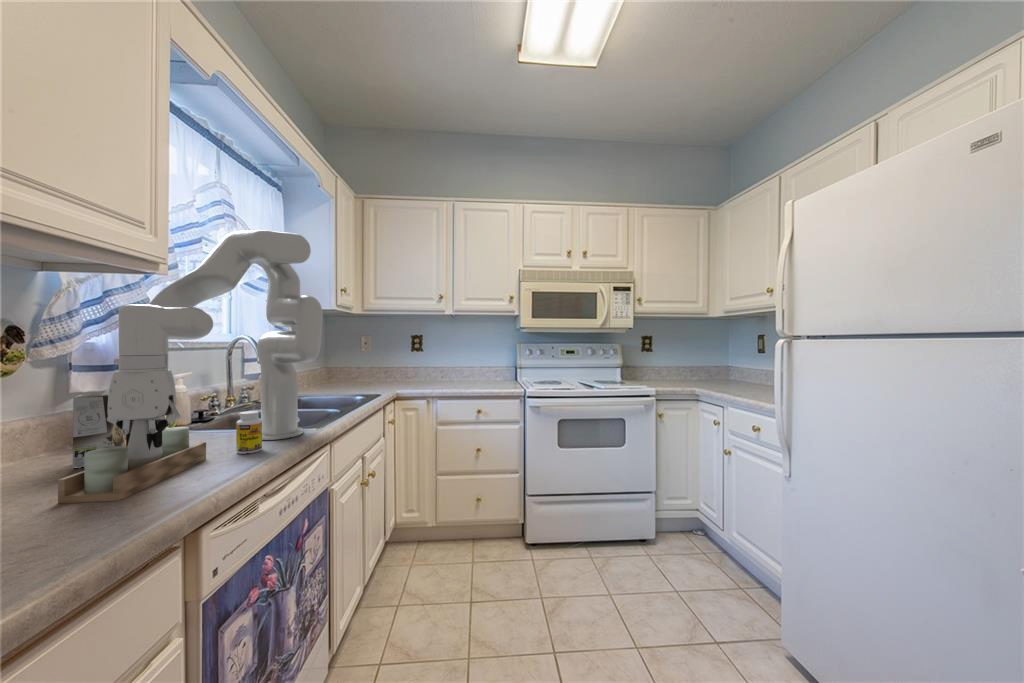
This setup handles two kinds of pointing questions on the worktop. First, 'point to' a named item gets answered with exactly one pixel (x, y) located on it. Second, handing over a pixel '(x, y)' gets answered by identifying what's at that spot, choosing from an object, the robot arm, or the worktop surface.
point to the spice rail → (128, 470)
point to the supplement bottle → (249, 433)
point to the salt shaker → (141, 445)
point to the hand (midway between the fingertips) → (144, 450)
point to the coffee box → (93, 426)
